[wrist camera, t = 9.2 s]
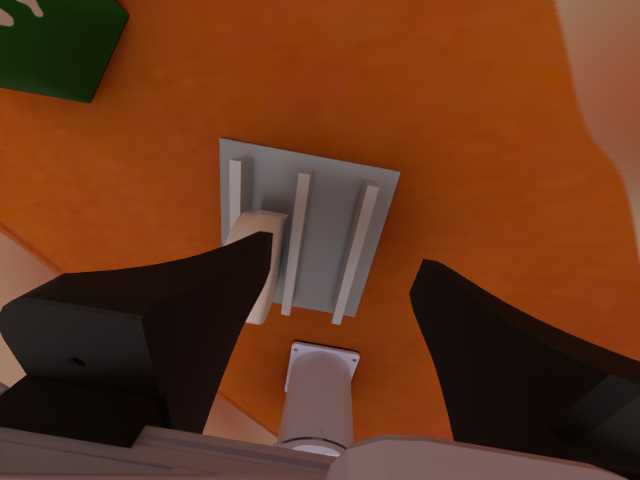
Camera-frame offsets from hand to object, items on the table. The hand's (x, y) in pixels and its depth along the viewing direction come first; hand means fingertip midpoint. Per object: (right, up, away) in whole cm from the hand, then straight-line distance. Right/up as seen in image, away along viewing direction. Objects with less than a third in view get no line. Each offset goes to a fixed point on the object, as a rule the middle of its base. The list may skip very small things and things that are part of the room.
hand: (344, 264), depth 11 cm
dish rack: (-3, +1, +10) cm, 11 cm away
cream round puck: (-6, +1, +10) cm, 11 cm away
